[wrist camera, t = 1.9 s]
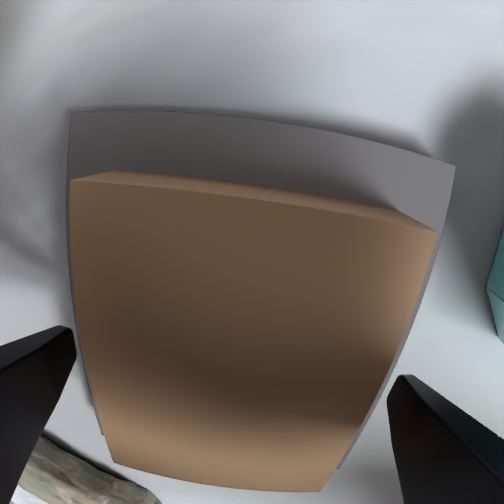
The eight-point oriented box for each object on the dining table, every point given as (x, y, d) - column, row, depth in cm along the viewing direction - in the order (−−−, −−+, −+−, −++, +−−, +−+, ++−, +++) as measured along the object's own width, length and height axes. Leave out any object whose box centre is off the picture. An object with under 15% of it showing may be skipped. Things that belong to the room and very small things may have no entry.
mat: (335, 451, 11) (338, 468, 10) (109, 419, 11) (101, 434, 10) (437, 163, 8) (456, 166, 7) (90, 114, 7) (71, 112, 7)
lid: (314, 449, 10) (319, 491, 8) (130, 423, 10) (113, 462, 8) (398, 210, 7) (437, 231, 5) (114, 170, 7) (69, 180, 5)
